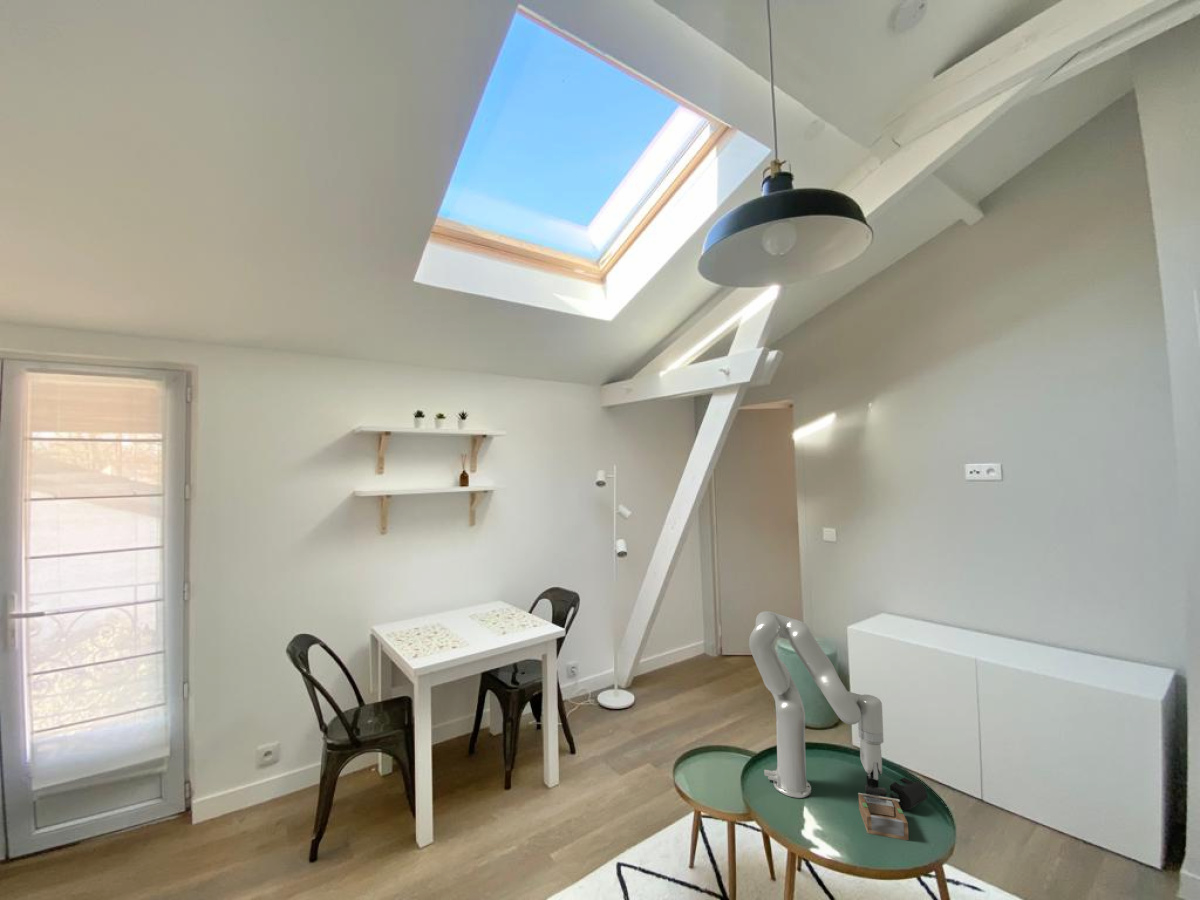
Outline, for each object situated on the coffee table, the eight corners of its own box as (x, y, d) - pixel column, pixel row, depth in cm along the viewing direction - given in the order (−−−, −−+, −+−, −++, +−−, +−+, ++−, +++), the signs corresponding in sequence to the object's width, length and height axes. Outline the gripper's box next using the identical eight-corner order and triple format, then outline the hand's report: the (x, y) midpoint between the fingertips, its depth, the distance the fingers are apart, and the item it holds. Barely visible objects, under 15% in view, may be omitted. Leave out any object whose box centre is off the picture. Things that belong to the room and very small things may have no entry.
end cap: (911, 816, 160) (910, 794, 160) (889, 803, 166) (888, 783, 167) (928, 806, 165) (927, 785, 165) (906, 794, 171) (905, 774, 172)
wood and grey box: (867, 833, 152) (866, 815, 152) (859, 808, 164) (858, 792, 164) (908, 840, 149) (907, 822, 149) (896, 815, 160) (896, 798, 161)
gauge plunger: (859, 810, 160) (859, 794, 161) (855, 799, 166) (855, 783, 167) (901, 817, 157) (900, 801, 157) (895, 805, 163) (895, 789, 163)
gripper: (854, 722, 177) (855, 775, 176) (864, 743, 163) (866, 801, 162) (877, 725, 175) (879, 779, 174) (889, 746, 161) (891, 805, 160)
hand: (872, 789), depth 168 cm, fingers closed
